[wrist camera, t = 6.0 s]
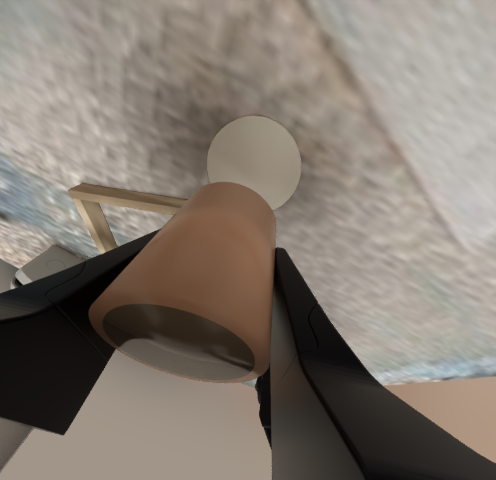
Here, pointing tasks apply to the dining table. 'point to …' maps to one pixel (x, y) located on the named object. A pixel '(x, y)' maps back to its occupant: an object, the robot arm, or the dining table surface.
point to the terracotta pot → (199, 290)
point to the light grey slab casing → (44, 266)
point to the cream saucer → (256, 158)
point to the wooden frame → (93, 216)
